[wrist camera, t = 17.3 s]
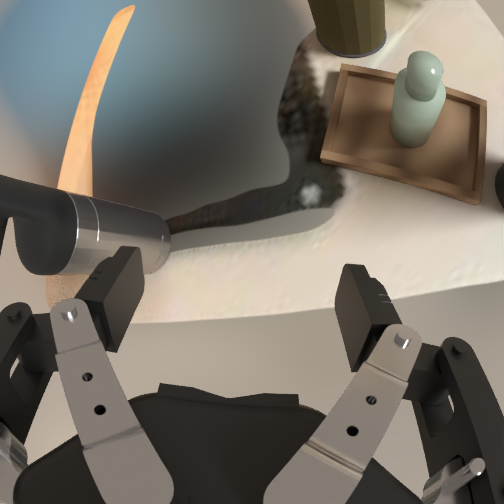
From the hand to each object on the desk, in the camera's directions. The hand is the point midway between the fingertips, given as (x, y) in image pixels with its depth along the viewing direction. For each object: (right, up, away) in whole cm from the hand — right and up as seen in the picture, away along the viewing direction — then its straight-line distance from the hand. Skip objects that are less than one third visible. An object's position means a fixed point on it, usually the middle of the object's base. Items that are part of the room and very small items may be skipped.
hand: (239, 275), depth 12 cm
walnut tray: (+20, +16, +22) cm, 33 cm away
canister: (+15, +33, +24) cm, 44 cm away
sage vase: (+20, +16, +21) cm, 33 cm away
